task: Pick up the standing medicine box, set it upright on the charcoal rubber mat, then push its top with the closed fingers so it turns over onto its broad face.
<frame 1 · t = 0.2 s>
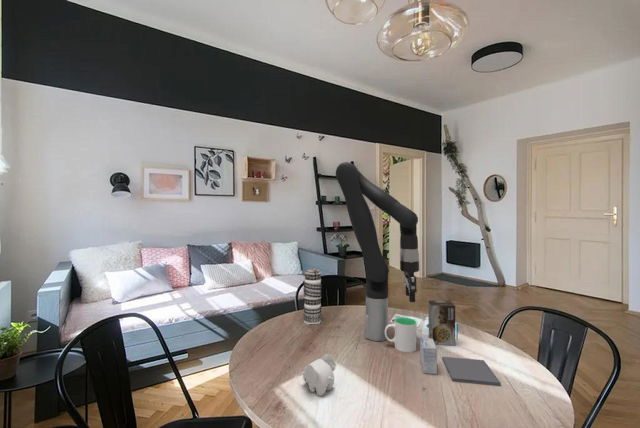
hand: (410, 298, 124), 17 cm above the table, tool pointing down, fingers open, 8 cm apart
medicine box: (428, 368, 103), on the table
elephant figurine: (317, 388, 91), on the table
coffee box: (441, 342, 123), on the table
decorative candle: (312, 321, 144), on the table
mug: (400, 347, 118), on the table
rubber mat: (468, 371, 100), on the table
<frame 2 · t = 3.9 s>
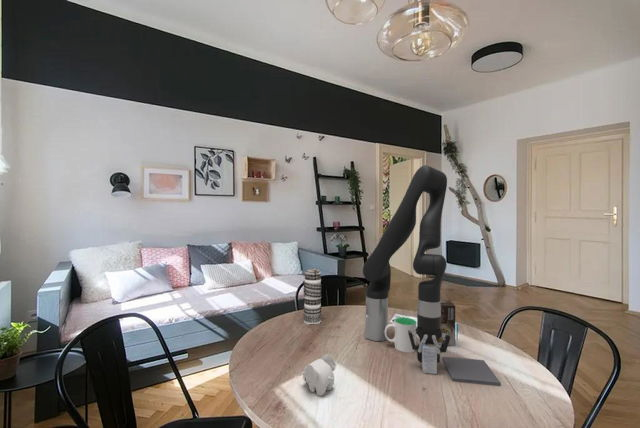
hand: (428, 362, 103), 2 cm above the table, tool pointing down, fingers closed on medicine box, 4 cm apart
medicine box: (428, 368, 103), on the table, touching gripper
everything else where it was.
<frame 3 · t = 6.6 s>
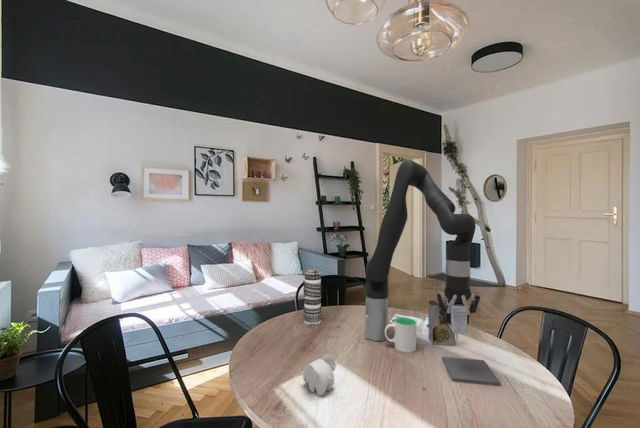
hand: (456, 323, 101), 16 cm above the table, tool pointing down, fingers closed on medicine box, 4 cm apart
medicine box: (456, 329, 101), point 14 cm above the table, touching gripper
everything else where it was.
when the fingers open (4 cm above the table, at t = 9.3 s): medicine box drops 1 cm, resting on rubber mat.
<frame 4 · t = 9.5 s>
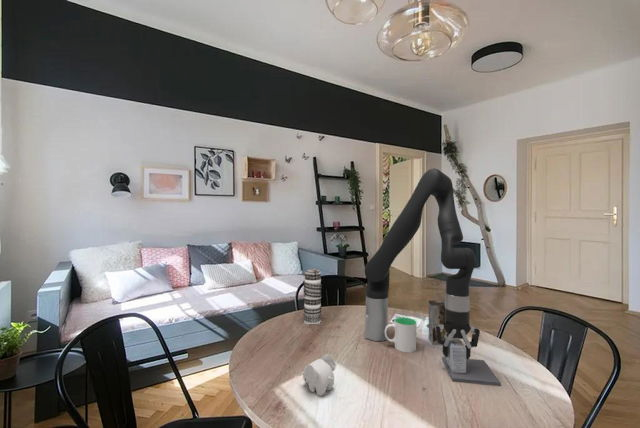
hand: (456, 356, 101), 5 cm above the table, tool pointing down, fingers open, 6 cm apart
medicine box: (455, 367, 101), point 1 cm above the table, touching rubber mat
everything else where it was.
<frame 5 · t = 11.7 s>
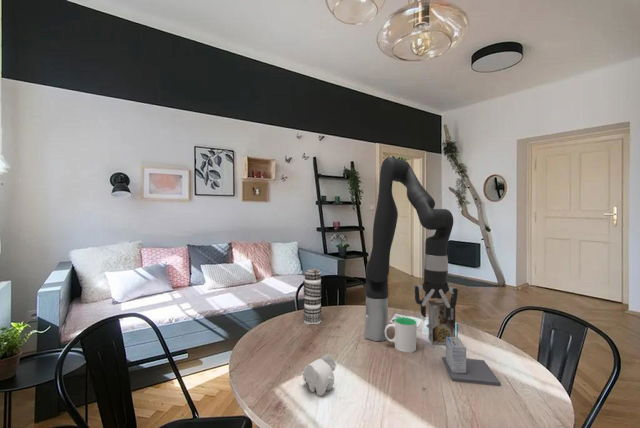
hand: (434, 316, 102), 18 cm above the table, tool pointing down, fingers open, 6 cm apart
nothing on the table moved.
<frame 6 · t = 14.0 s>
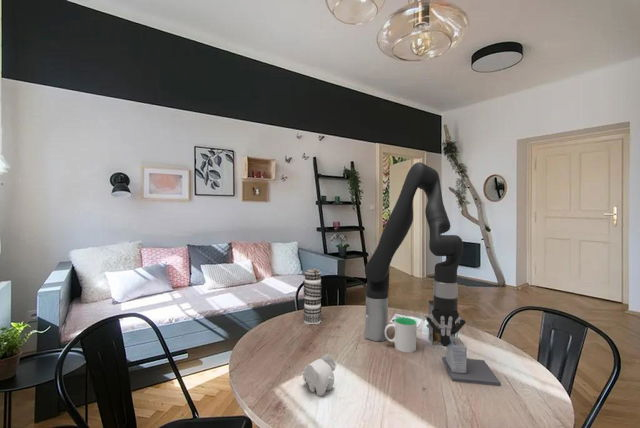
hand: (444, 345, 101), 8 cm above the table, tool pointing down, fingers closed
medicine box: (455, 367, 101), point 1 cm above the table, touching gripper, rubber mat
everything else where it was.
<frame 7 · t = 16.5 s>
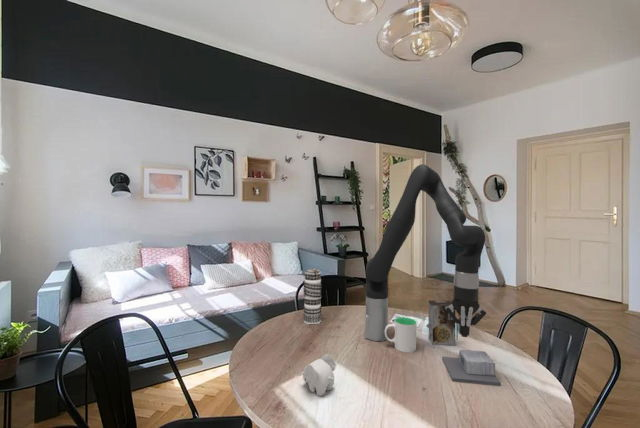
hand: (464, 336, 101), 11 cm above the table, tool pointing down, fingers closed
medicine box: (462, 361, 101), point 3 cm above the table, touching rubber mat
everything else where it was.
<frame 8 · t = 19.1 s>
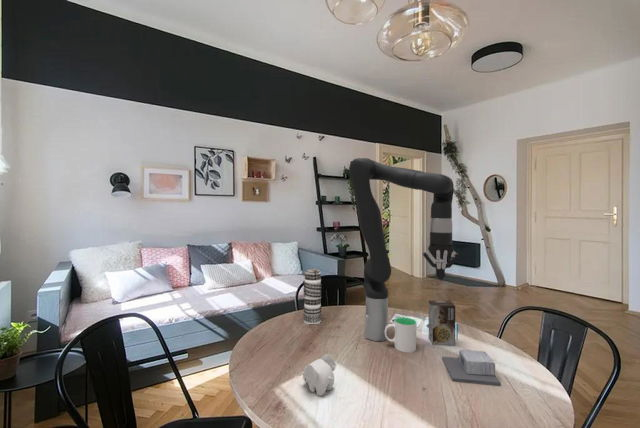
hand: (440, 279, 108), 29 cm above the table, tool pointing down, fingers closed
nothing on the table moved.
at the end: medicine box tilted 90°; medicine box inside the target area on the rubber mat (2.7 cm from its centre), point 3.2 cm above the rubber mat's base; the gripper is holding nothing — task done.
